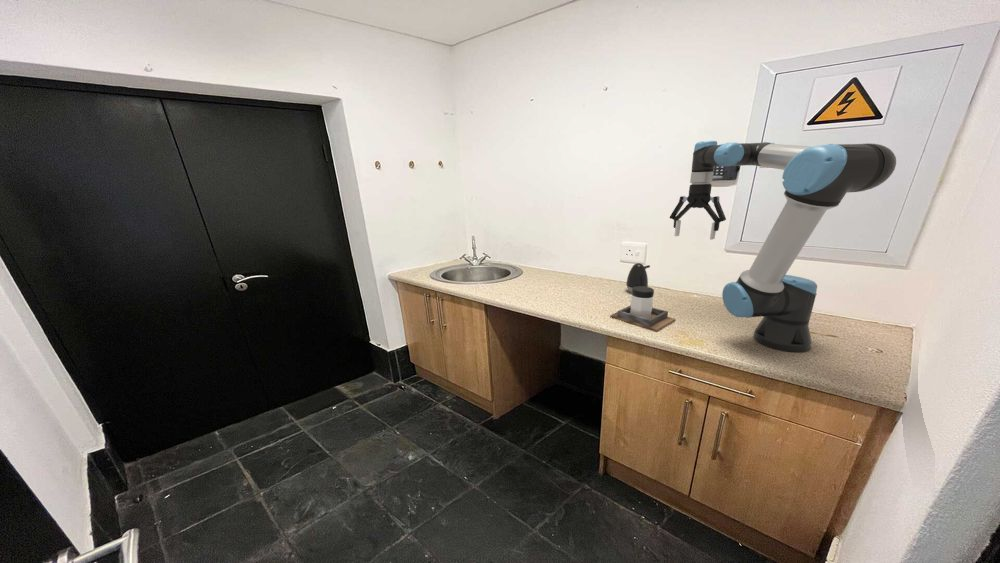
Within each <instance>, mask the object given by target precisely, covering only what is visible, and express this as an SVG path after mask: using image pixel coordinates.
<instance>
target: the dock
mask: <svg viewBox="0 0 1000 563" xmlns="http://www.w3.org/2000/svg"><path fill="white" fill-rule="evenodd" d="M630 309H631V304H630V305H627V306H626V307H624V308H622V309H619V310H618V311H616V312H613V313H612V314H610V318H611V317H612V318H611V319H614V318H615V319H614V320H617V319H618V321H620V320H621V321H622V322H623V321H624V323H627V324H630V325H633V326H636V327H640V328H643V329H645V330H649V331H652V332H655V333H657V332H659V331H661V330H663V329H665V328H667V327H668V326H670V325H672V324H673V323H675V322H676V318H673V317H669V316H668V315H669V311H667V310H664V309H659V308H657V307H653V306H652V312H651V319H646V318H643V317H640V316H636V315H633V314H630Z"/></svg>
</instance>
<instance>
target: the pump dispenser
mask: <svg viewBox="0 0 1000 563" xmlns="http://www.w3.org/2000/svg"><path fill="white" fill-rule="evenodd" d="M650 267H651V265H650V264H649V265H644V264H643V263H640V262H637V263H635V264H633V265H632V266H631V268H630V269H629V270H630V271H629V272H628V275H627V277H626V278H627V279H626V284H625V285H626V287H627V290H628V291H629V292H630V293H632V288H633V287H636V286H645V287H649V277H648V273H647V270H646V269H649V268H650Z"/></svg>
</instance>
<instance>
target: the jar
mask: <svg viewBox="0 0 1000 563" xmlns="http://www.w3.org/2000/svg"><path fill="white" fill-rule="evenodd" d="M654 294H655V289H654V288H653V287H649V286H648V287H645V286H636V287H633V288H632V292H631V296H630V298H631V299H630V305H631V309H630V314H633V315H636V316H640V317H643V318H646V319H651V312H652V307H653V306H654V304H653V301H654Z"/></svg>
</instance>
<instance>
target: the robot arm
mask: <svg viewBox="0 0 1000 563" xmlns="http://www.w3.org/2000/svg"><path fill="white" fill-rule="evenodd" d="M691 162H692V163H691V173H690V179H689V180H690V181H689V183H690V185H689V190H688V196H685V195H681V196H679V200H678V202H677V205H676V206H675V208H674V209H673V210H672V213H671V214H670V216H669V219H671V220H673V226H672V227H673V228H674V236H675V237H679V236H680V234H681V233H680V231H681V224H682V220H681V218H682V217H683V216H684V215H686V213H687V212H688V211H689V210H691V209H692V208H693V209H695V208H696V209H697V208H698V209H704V210H705V211H706V212H707V214H708V215H709V216H710V218H711V219H712V220H713V222H712V223H711V229H710V236H709V240H714V239H715V237H716V232H717V231H719V230H720V223H721V222H725V221H726V220H727V218H726V215H725V212H724V210H723V208H722V205H721V202H720V196H718V195H717V196H711V194H712V193H711V192H712V187H713V185H712V184H711V183H713V178H714V172H715V168H716V167H737V166H740V167H741V166H756V167H763V168H764V167H765V168H770V169H771V168H772V169H777V170H783V172H782V180H783V181H782V186H783V188H784V189H785V190H784V191H783V192H784V193H783V196H784V197H785V199H786V203H785V204H784V206H783V208H782V209H781V211H780V213H779V215H778V217H777V219H776V221H775V222H774V224H773V226H772V228H771V229H770V232H769V234H768V235H767V237H766V239H765V241H764V243H763V244H762V246H761V248H760V250H759V251H758V253H757V255H756V257H755V258H754V261H753V263H752V264H751V266H750V268H749V269H746V270H743V271H742V272H741V273H740V275H739V277H738V278H737V280H736V281H731V282H728V283H726V284H725V285H724V287H723V289H722V292H721V293H722V294H721V298H722V301H723V306H724V307H725V309H726V310H727V312H729V313H730V314H731V315H732V316H734V317H735V318H746V319H750V318H758V317H760V318H761V317H762V319H761V320H760V321H759V323H758V324H757V326H756V327H755V329H754V331H753V339H754V340H755V341H757V343H759V344H762V345H763V346H766V347H769V348H772V349H775V350H779V351H785V352H792V353H803V352H807V351H809V350H811V347H812V336H811V331H810V328H809V325H810V320H811V318H812V317H811V316H812V314H813V313H812V312H813V308H814V304H815V301H816V296H817V289H818V285H817V283H816V281H814V280H811V279H809V278H805V277H801V276H796V275H790V274H787V273H788V271H789V269H790V268H791V266H792V265H793V264H794V262H795V260H796V259H797V257H798V255H799V254H800V253H801V251H802V249H803V248H804V246H805V245H806V243H807V241H808V240H809V238H810V237H811V235H812V234H813V232H814V230H815V229H816V227H817V226H818V225H819V223H820V221H821V219H822V218H823V216H824V215H825V213H826V212H827V211H828V210H830V209H833V208H836V207H838V206H839V204H840V203H841V202H842V200H843V198H845V196H846V195H847V193H859V192H865V191H868V190H872V189H874V188H876V187H879V186H880V185H882V184H884V182H886V181H887V180H888V179H889V178H890V177H891V176H892V174H893V173H894V171H895V169H896V165H897V157H896V154H895V153H894V151H893V150H891V149H890V148H889V147H887V146H884V145H882V144H877V143H845V144H844V143H841V144H839V143H836V144H835V143H826V144H822V145H814V146H808V145H795V144H781V143H775V142H767V141H765V142H751V143H742V142H741V143H740V142H725V143H721V144H718V142H717V141H716V140H705V141H698V142H696V143H695V144H694V150H693V153H692V161H691ZM686 202H687V204H686V205H685V207H683V205H684V204H685V203H686ZM710 202H712V203H713V206H714V208H715V210H716V212H715V211H714V209H713V208H712V206H711V204H709V203H710ZM682 207H683V208H682ZM681 209H682V210H681ZM680 210H681V211H680Z"/></svg>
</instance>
